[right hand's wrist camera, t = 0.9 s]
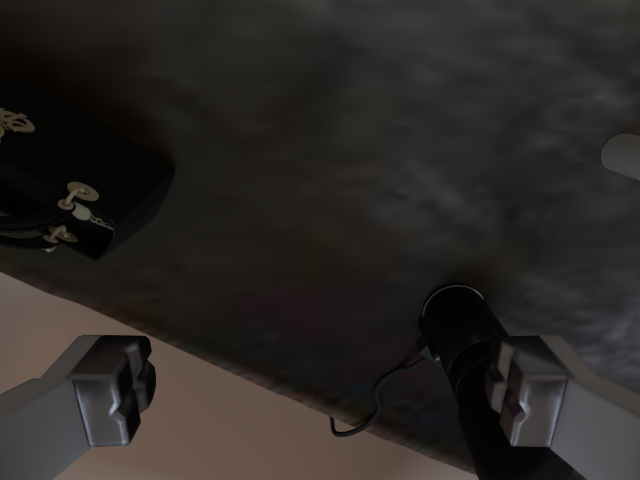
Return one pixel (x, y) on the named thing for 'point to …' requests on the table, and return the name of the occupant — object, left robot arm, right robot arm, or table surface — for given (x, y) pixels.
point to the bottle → (622, 155)
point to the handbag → (72, 179)
